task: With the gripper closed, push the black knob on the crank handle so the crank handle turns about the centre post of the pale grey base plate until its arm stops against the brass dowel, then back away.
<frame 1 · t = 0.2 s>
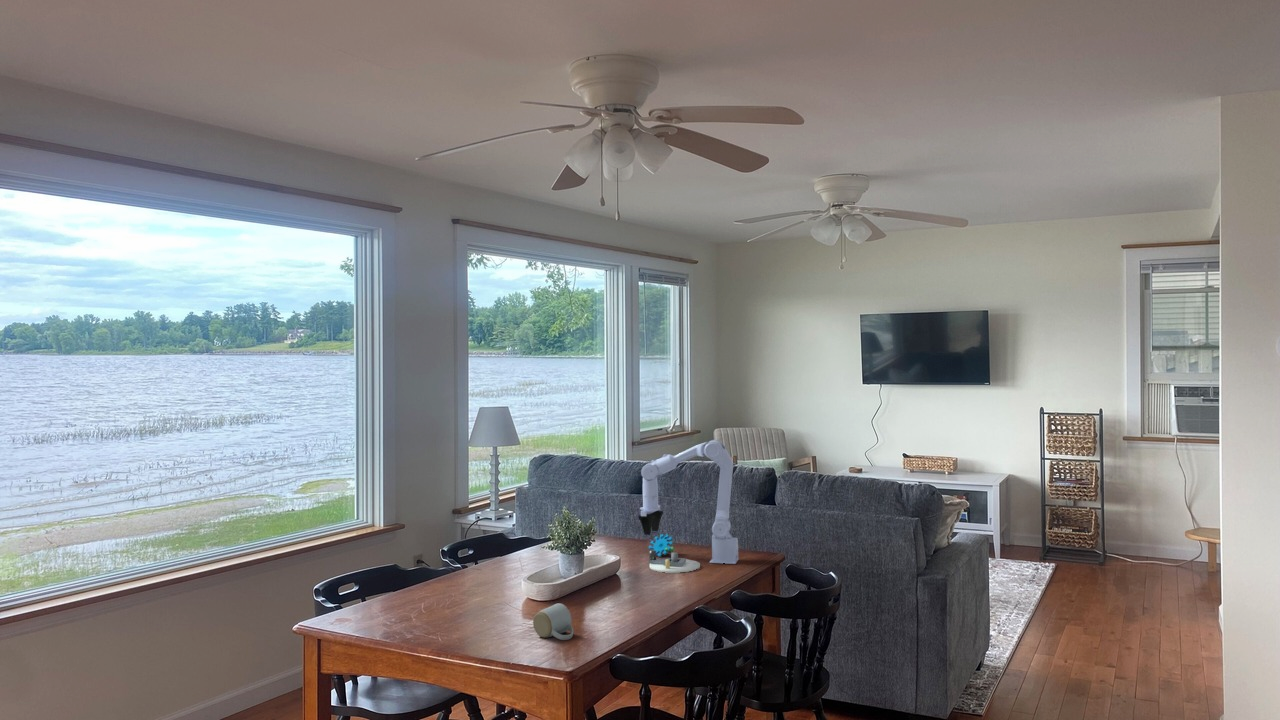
hand: (651, 532, 322), 10 cm above the table, tool pointing down, fingers open, 7 cm apart
base plate: (674, 567, 310), on the table
gear: (662, 556, 330), on the table
crank handle: (666, 557, 311), point 3 cm above the table, hinge at 0.0°
ceramic mug: (556, 636, 233), on the table
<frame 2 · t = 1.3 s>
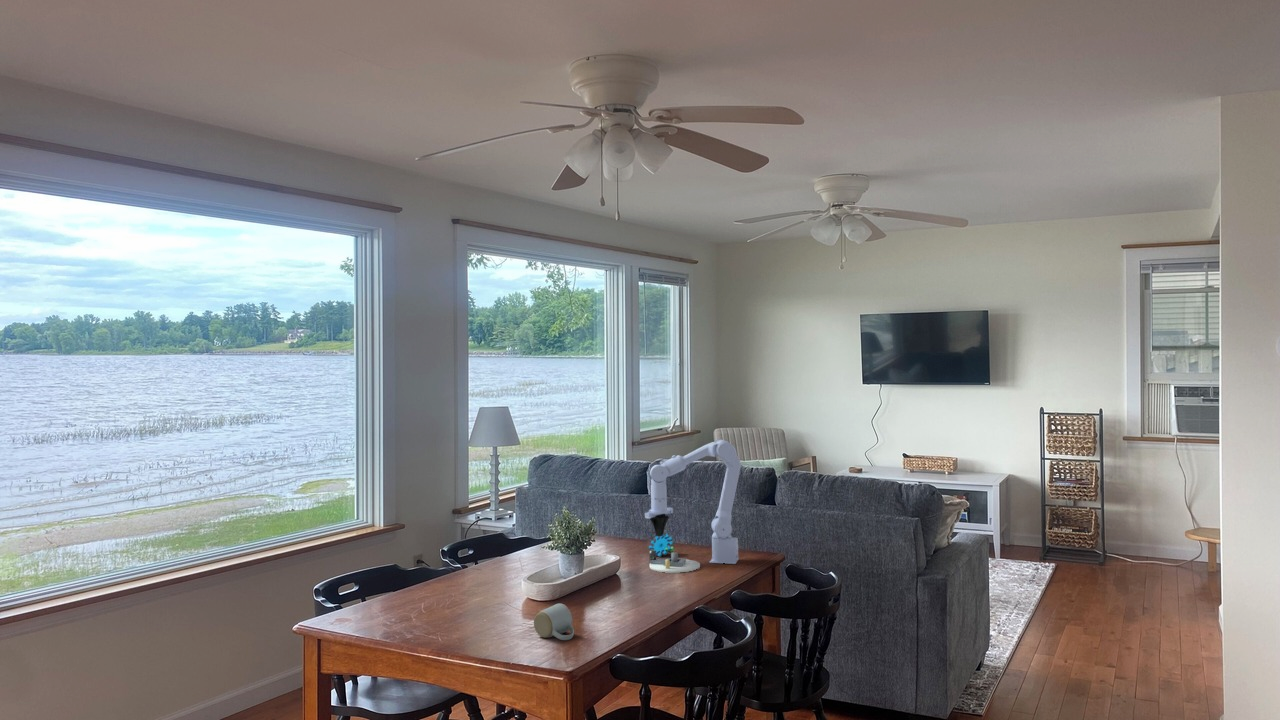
hand: (659, 535, 316), 10 cm above the table, tool pointing down, fingers closed
nothing on the table moved.
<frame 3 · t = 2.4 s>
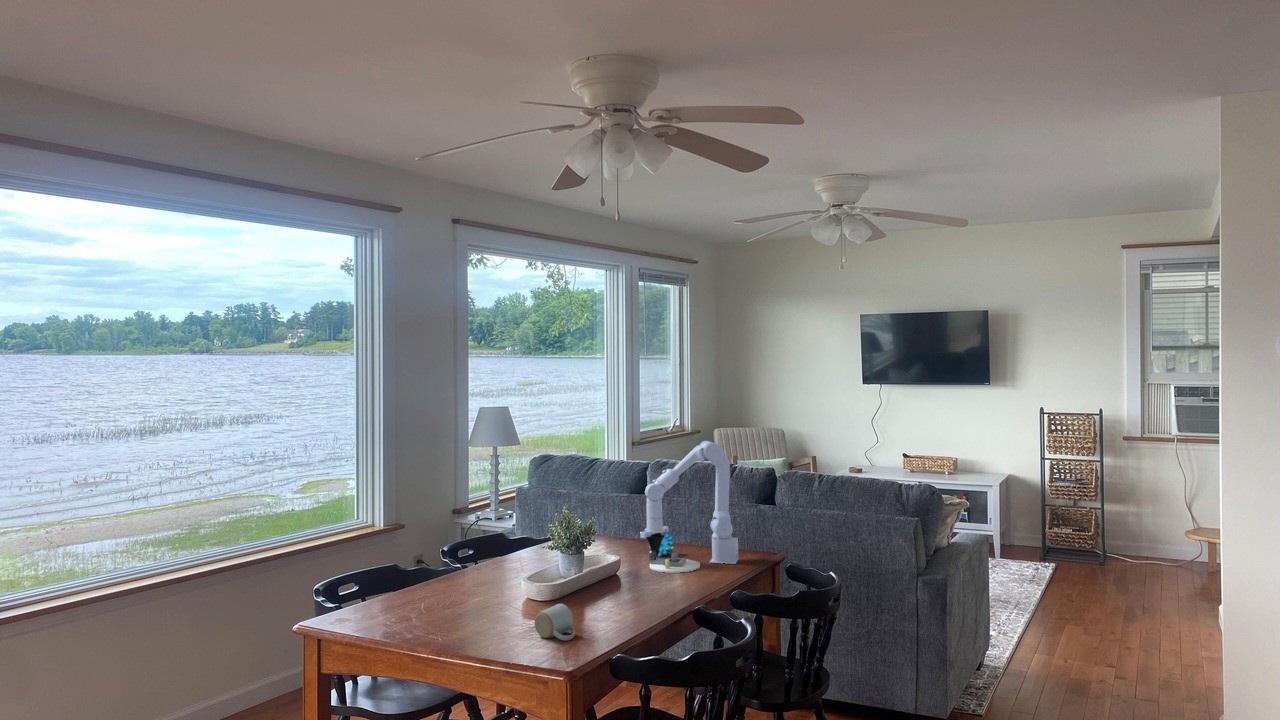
hand: (655, 554, 314), 4 cm above the table, tool pointing down, fingers closed, pressing on crank handle
crank handle: (666, 557, 311), point 3 cm above the table, hinge at 0.0°, touching gripper
everything else where it was.
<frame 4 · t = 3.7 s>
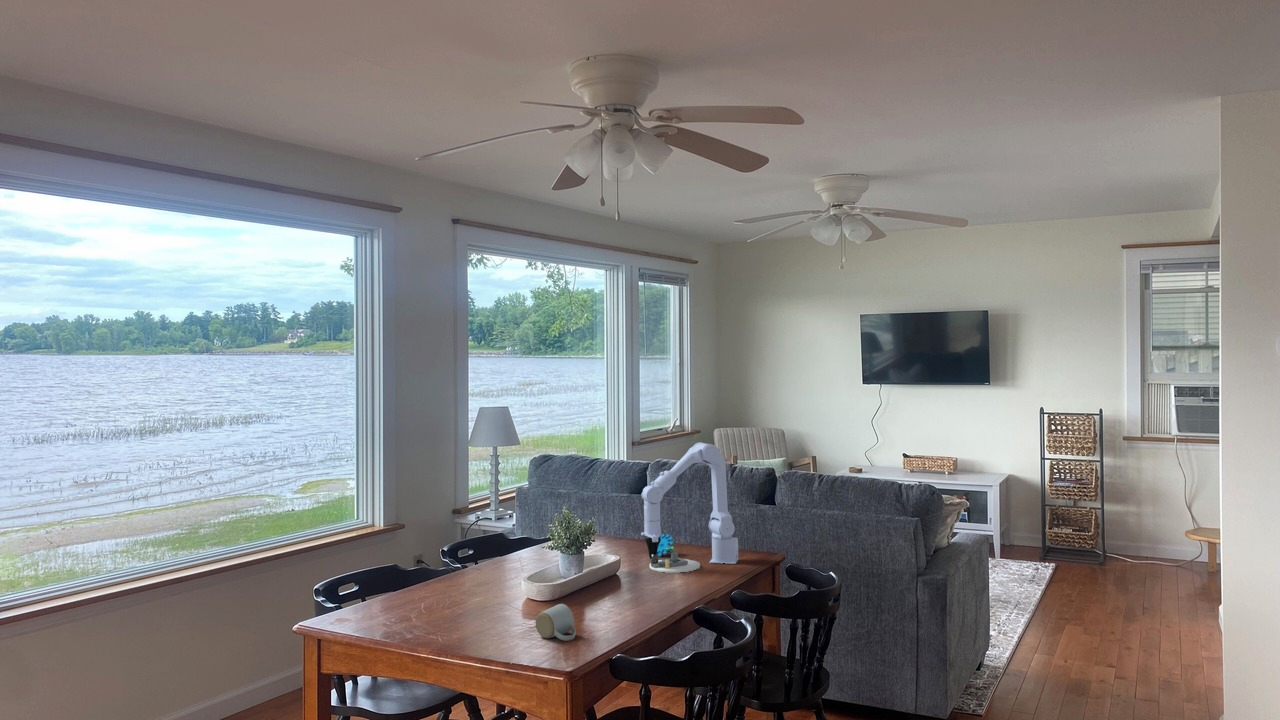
hand: (652, 558, 308), 4 cm above the table, tool pointing down, fingers closed, pressing on crank handle
crank handle: (667, 558, 309), point 3 cm above the table, hinge at 41.3°, touching gripper
everything else where it was.
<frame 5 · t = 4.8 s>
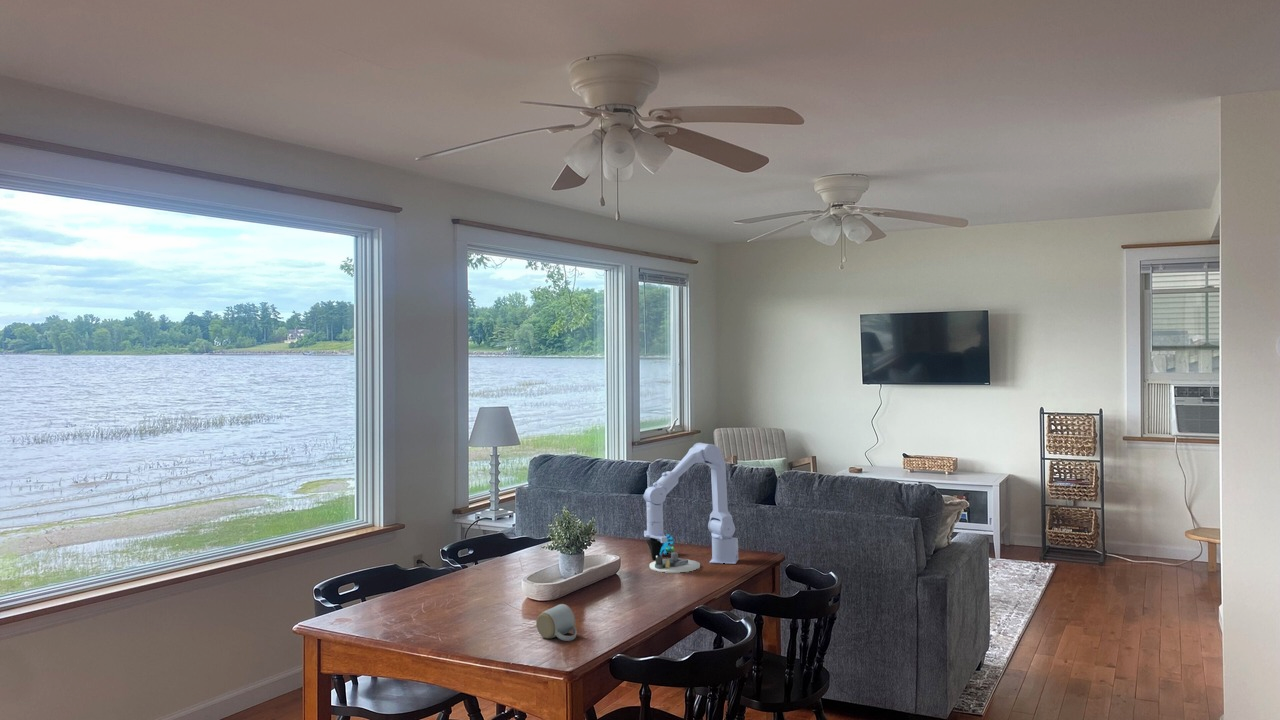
hand: (655, 560, 306), 4 cm above the table, tool pointing down, fingers closed
crank handle: (669, 559, 308), point 3 cm above the table, hinge at 59.8°, touching gripper
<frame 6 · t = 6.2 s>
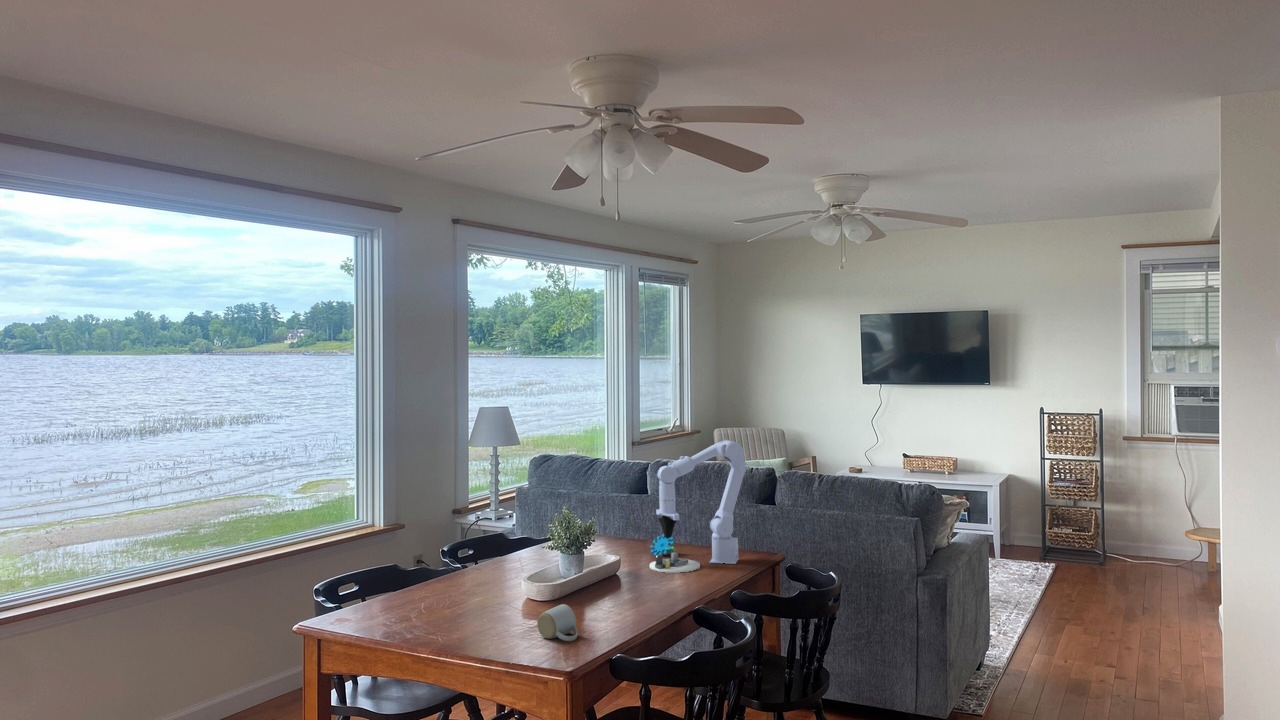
hand: (668, 537, 314), 10 cm above the table, tool pointing down, fingers closed
crank handle: (669, 559, 308), point 3 cm above the table, hinge at 60.1°
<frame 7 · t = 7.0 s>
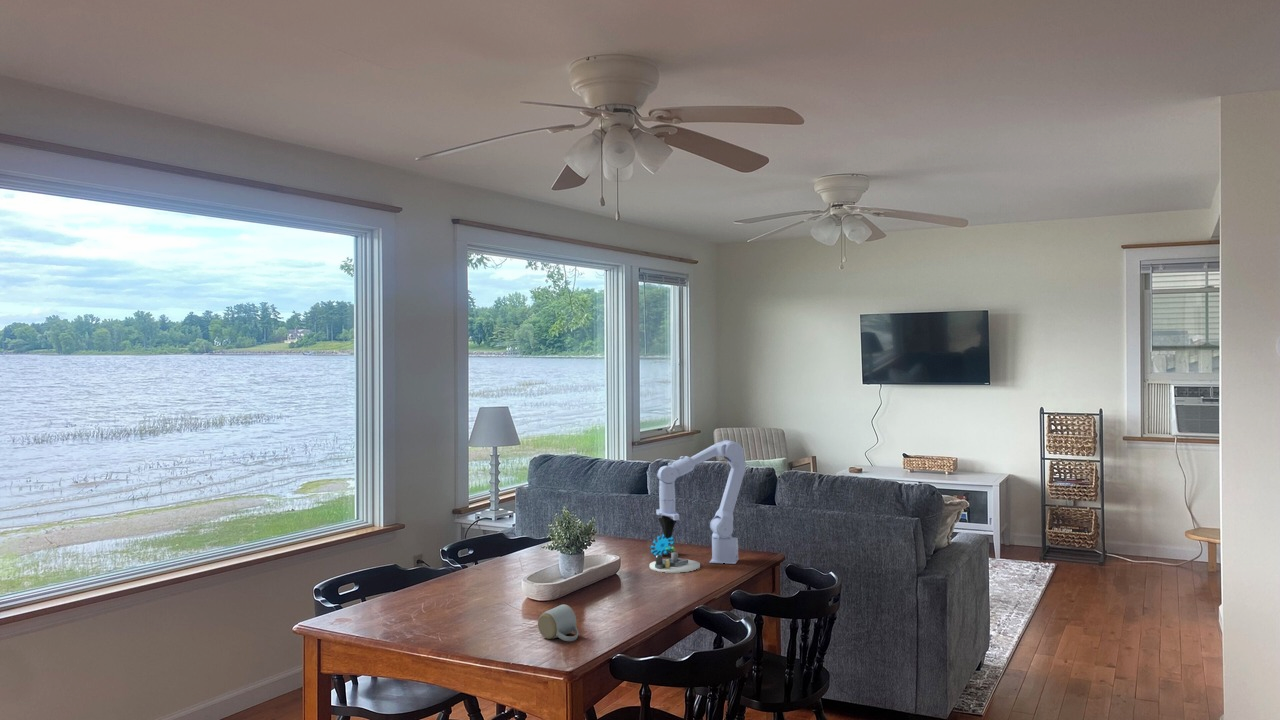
hand: (668, 537, 314), 10 cm above the table, tool pointing down, fingers closed
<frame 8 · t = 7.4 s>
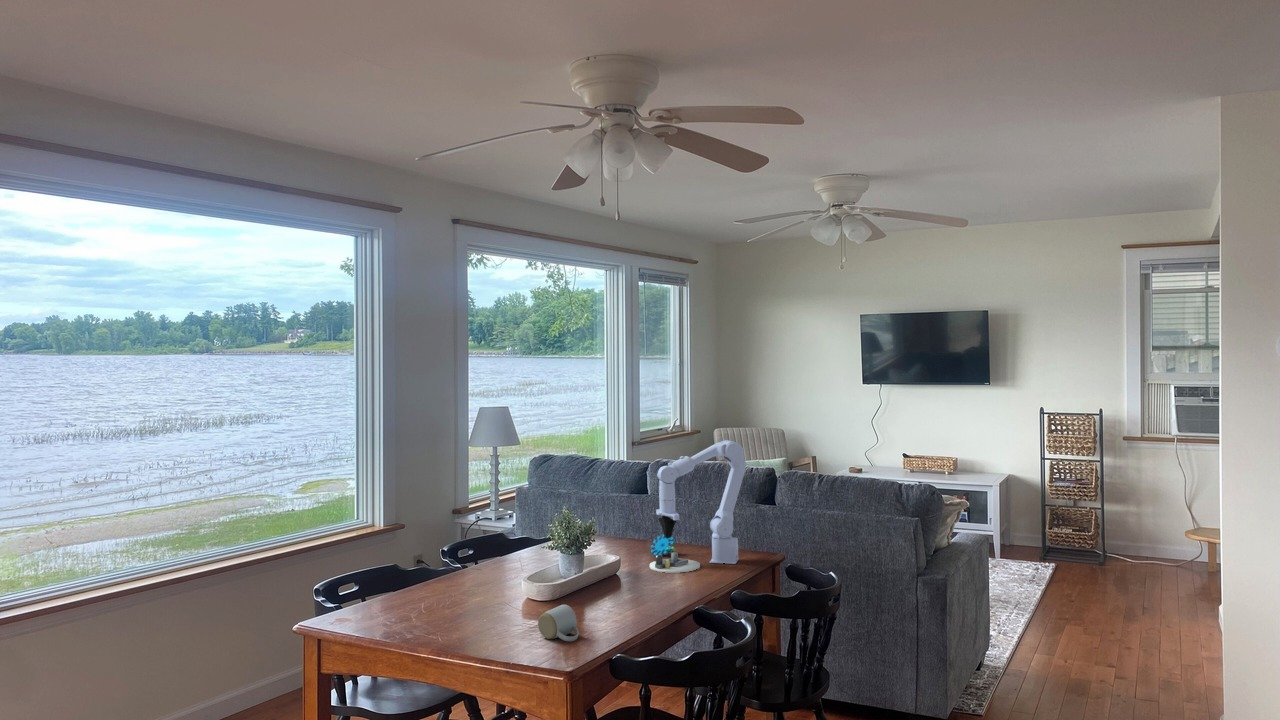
hand: (668, 537, 314), 10 cm above the table, tool pointing down, fingers closed
at the end: crank handle at +60° (first picture: +0°); gear moved 0.9 cm from its start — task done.
